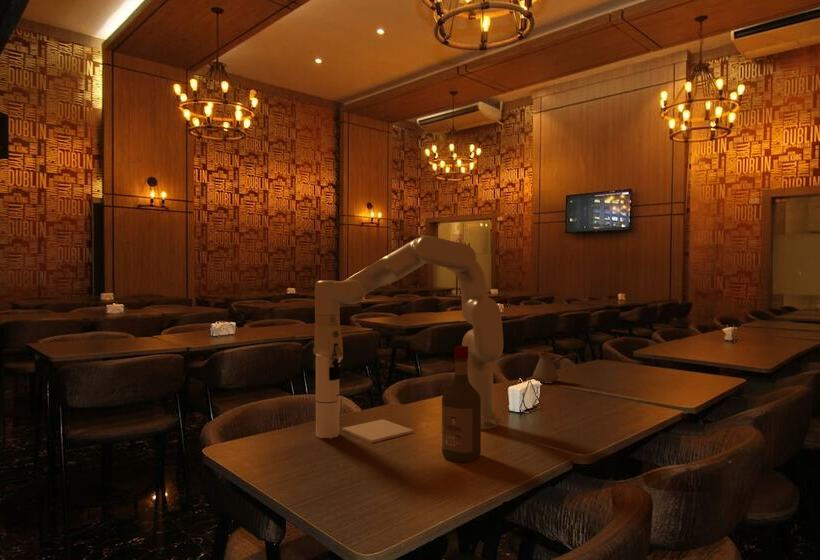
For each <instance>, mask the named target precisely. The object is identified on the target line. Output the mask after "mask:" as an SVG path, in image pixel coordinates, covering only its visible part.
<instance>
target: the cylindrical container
mask: <svg viewBox="0 0 820 560" xmlns="http://www.w3.org/2000/svg"><path fill="white" fill-rule="evenodd" d="M332 356H336V355H332ZM334 360H335V359H333V362H334ZM329 367H331V366H330V362H329V358H327V356H324V355H320V354H316V363H315V436H317V437H316V438H318V437H319V438H318V439H323V438H329V439H333V437H335V438H337V437H339V436H340V378H339V379H338V380H329ZM338 435H339V436H338Z"/></svg>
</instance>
